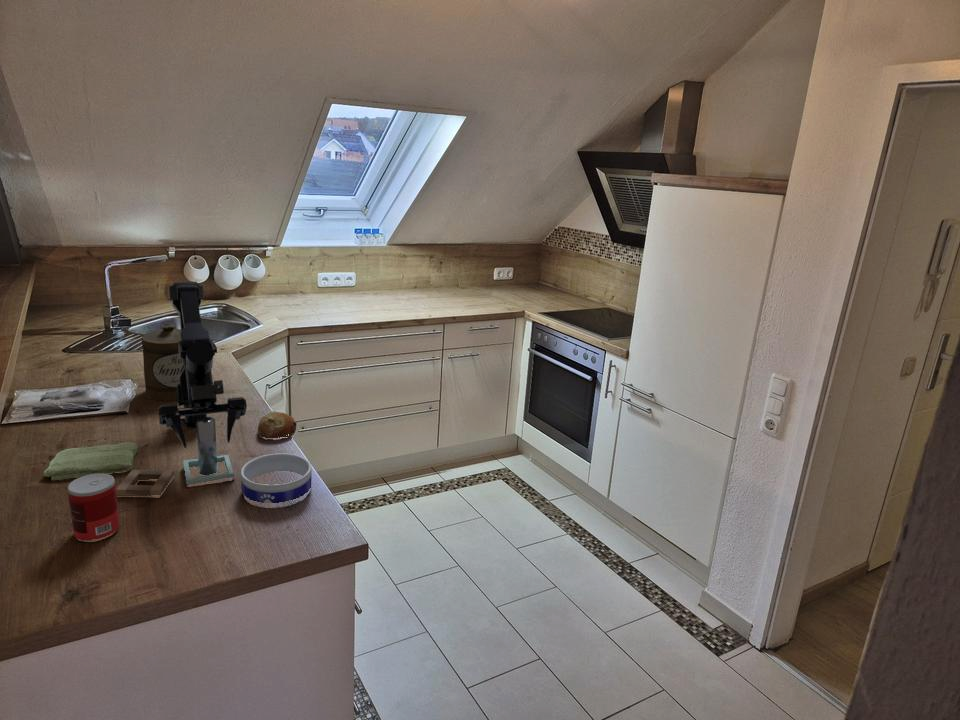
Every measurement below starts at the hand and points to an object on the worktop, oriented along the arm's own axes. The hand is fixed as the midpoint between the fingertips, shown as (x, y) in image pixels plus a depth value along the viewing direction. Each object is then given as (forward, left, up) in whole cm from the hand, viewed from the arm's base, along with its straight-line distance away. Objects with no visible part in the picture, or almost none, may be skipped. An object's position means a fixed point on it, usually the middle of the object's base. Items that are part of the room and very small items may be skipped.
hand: (207, 444), depth 147 cm
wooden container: (-56, +12, -9) cm, 58 cm away
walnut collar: (-3, -13, -8) cm, 15 cm away
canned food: (+9, -26, -9) cm, 28 cm away
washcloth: (-21, -19, -9) cm, 29 cm away
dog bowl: (+15, +9, -9) cm, 20 cm away
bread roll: (-13, +24, -9) cm, 29 cm away
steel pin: (-1, 0, -8) cm, 8 cm away
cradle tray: (-1, 0, -8) cm, 8 cm away
